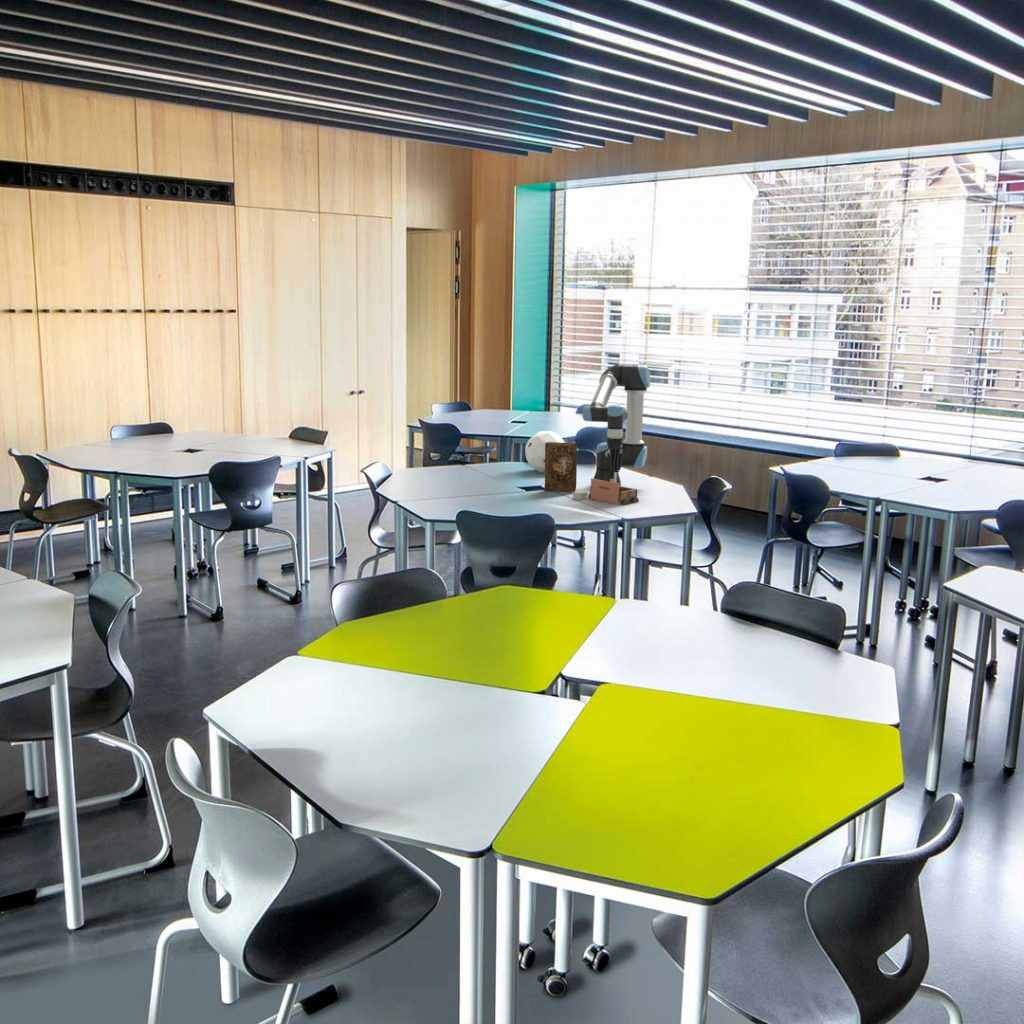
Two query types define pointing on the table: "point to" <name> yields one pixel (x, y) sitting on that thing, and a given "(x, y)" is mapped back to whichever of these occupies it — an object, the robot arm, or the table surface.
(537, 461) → the geometric sculpture
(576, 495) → the block
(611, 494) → the tailgate
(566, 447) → the book
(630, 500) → the wooden toy wagon
